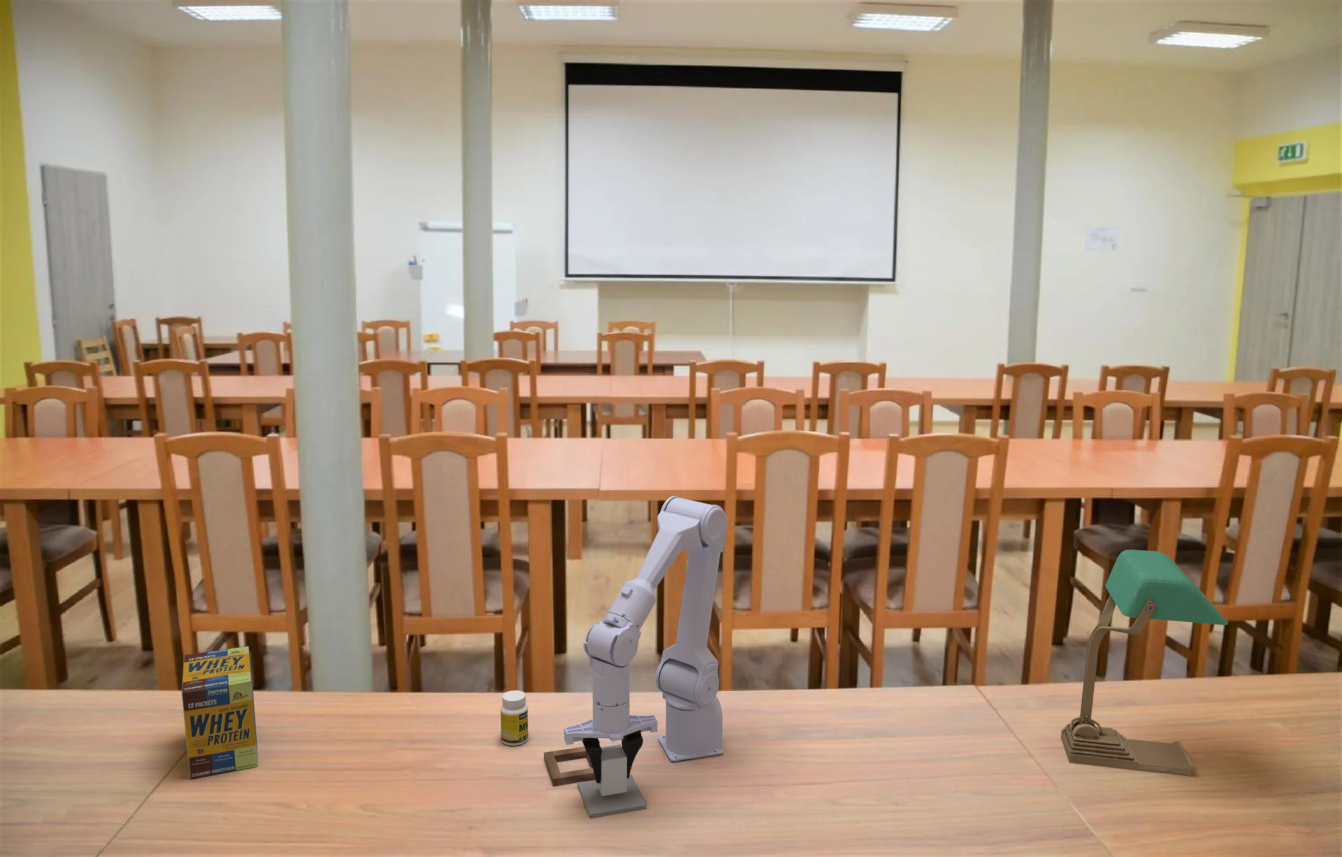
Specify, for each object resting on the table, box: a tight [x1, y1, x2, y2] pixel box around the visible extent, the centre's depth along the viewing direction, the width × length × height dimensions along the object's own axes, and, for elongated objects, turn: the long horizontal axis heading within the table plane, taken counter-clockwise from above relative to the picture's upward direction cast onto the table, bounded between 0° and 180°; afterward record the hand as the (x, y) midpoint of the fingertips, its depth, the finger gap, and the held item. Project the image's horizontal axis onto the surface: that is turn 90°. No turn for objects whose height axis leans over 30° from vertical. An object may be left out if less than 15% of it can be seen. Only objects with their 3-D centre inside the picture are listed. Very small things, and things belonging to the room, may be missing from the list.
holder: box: [543, 746, 595, 787], centre depth 166 cm, size 8×8×1 cm
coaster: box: [577, 773, 648, 819], centre depth 158 cm, size 9×9×1 cm
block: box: [597, 744, 627, 796], centre depth 157 cm, size 4×4×6 cm
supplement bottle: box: [500, 690, 529, 747], centre depth 174 cm, size 5×5×8 cm
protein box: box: [181, 645, 259, 780], centre depth 169 cm, size 10×15×16 cm
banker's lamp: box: [1060, 549, 1229, 777], centre depth 168 cm, size 16×21×35 cm
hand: (611, 777), depth 157 cm, fingers closed on block, 4 cm apart
